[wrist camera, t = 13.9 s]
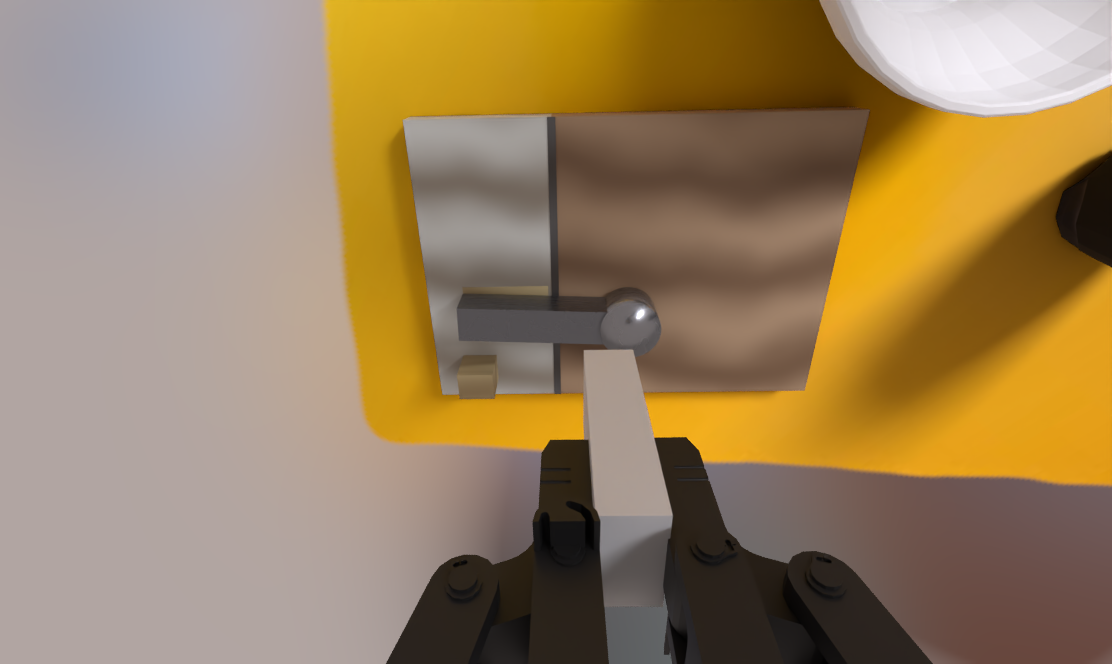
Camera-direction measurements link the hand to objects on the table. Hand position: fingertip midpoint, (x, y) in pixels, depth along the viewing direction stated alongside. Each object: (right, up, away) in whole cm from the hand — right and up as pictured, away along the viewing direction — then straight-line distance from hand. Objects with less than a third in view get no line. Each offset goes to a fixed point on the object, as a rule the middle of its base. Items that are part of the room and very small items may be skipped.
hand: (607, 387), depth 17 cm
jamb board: (+3, +7, +22) cm, 23 cm away
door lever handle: (-1, +3, +21) cm, 21 cm away
